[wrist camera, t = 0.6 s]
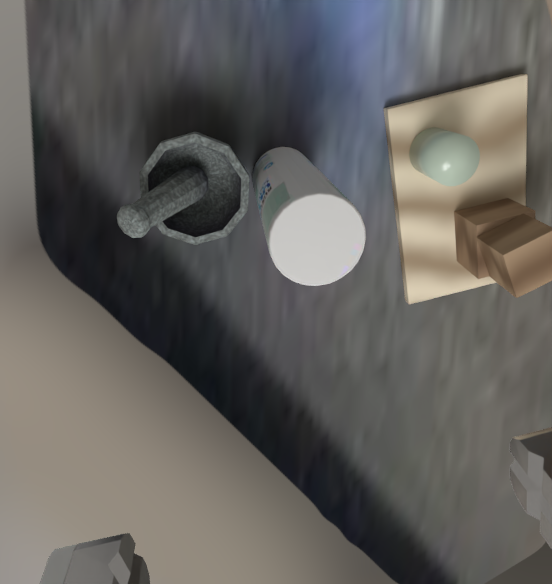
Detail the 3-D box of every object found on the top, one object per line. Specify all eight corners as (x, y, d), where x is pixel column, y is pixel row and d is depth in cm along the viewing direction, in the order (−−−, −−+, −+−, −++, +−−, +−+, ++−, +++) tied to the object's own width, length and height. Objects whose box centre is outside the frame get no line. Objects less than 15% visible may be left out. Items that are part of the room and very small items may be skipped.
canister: (407, 133, 48) (429, 141, 43) (451, 122, 48) (479, 129, 43) (411, 178, 50) (432, 191, 45) (454, 167, 50) (480, 179, 45)
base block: (453, 211, 52) (476, 225, 48) (507, 197, 52) (535, 210, 48) (456, 261, 55) (478, 279, 50) (507, 248, 55) (533, 265, 50)
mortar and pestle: (231, 114, 46) (236, 130, 36) (257, 205, 51) (268, 245, 40) (119, 145, 46) (90, 171, 36) (154, 234, 51) (137, 281, 40)
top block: (476, 237, 48) (503, 255, 44) (523, 213, 48) (555, 229, 43) (489, 276, 50) (516, 298, 46) (534, 254, 50) (566, 273, 45)
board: (383, 108, 48) (387, 109, 47) (520, 74, 48) (527, 74, 47) (405, 299, 57) (408, 304, 56) (518, 271, 58) (524, 275, 56)
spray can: (249, 145, 48) (266, 194, 30) (313, 143, 48) (369, 189, 30) (252, 209, 51) (269, 289, 33) (313, 206, 51) (363, 283, 33)
